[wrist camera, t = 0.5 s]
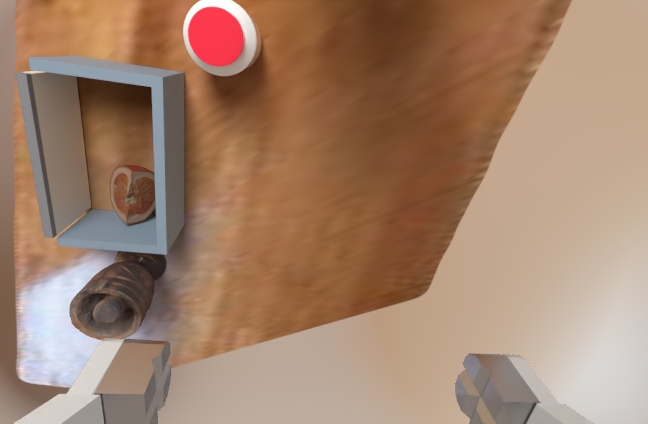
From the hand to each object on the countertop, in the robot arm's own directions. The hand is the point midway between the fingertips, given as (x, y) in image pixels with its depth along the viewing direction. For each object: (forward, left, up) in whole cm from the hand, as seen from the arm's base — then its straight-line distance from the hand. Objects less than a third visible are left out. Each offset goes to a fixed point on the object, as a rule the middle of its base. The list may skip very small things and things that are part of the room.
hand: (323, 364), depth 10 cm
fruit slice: (+14, -21, -45) cm, 52 cm away
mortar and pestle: (+25, -21, -45) cm, 56 cm away
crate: (+8, -22, -45) cm, 51 cm away
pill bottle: (-8, -9, -45) cm, 47 cm away
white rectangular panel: (+8, -29, -45) cm, 54 cm away
